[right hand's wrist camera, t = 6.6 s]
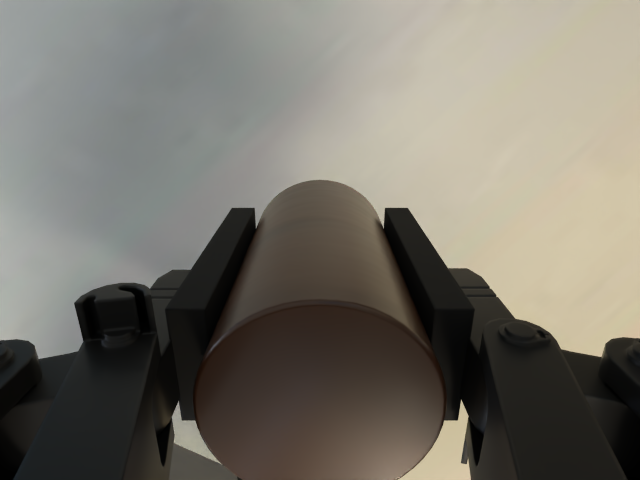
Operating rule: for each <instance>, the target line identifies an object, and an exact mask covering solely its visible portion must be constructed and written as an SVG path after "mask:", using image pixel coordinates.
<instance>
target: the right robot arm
mask: <svg viewBox="0 0 640 480" xmlns="http://www.w3.org/2000/svg"><path fill="white" fill-rule="evenodd" d="M255 231H256V223H255V208H232V209H231V210H230V212H229V213H228V215H227V216H226V218H225V219H224V221H223V222H222V224H221V225H220V227H219V228H218V230H217V231H216V233H215V234H214V236H213V237H212V239H211V240H210V242H209V243H208V245H207V246H206V248H205V249H204V251H203V252H202V254H201V255H200V257H199V258H198V260H197V261H196V263H195V264H194V266H193V267H192V269H191V270H172V271H170V272H168V273H167V274H165V275H163V276H162V277H160V278H158V279H157V281H156V282H155V283H154V284H153V286H152V287H151V288H150V289H149V288H148V287H146V286H145V285H142V284H137V283H118V284H112V285H106V286H103V287H100V288H97V289H94V290H92V291H90V292H88V293H86V294H84V295H82V296H81V297H80V298H79V299H78V300H77V301H76V302H75V303H74V304H75V308H76V312H77V317H78V321H79V325H80V329H81V333H82V337H83V343H82V345H81V347H80V349H79V351H78V352H74V353H69V354H64V355H59V356H53V357H48V358H43V359H38V356H37V352H36V349H35V346H34V345H33V344H32V343H30V342H29V341H25V340H18V339H15V340H5V341H4V340H1V341H0V480H242V479H241V478H239V477H237V476H236V475H235V474H233V473H232V472H231V471H229V470H228V469H227V468H226V467H225V466H224V465H222V464H219V463H217V462H215V461H213V460H210V459H208V458H206V457H204V456H201V455H199V454H197V453H195V452H192V451H190V450H188V449H186V448H183V447H181V446H179V445H177V444H174V429H173V423H172V415H173V412H174V410H175V408H176V406H177V403H178V401H179V404H180V411H181V417H182V420H196V419H195V415H194V410H193V389H194V382H195V378H196V375H197V371H198V369H199V366H200V364H201V361H202V359H203V356H204V354H205V352H206V349H207V347H208V344H209V342H210V339H211V337H212V335H213V332H214V330H215V327H216V325H217V323H218V320H219V318H220V315H221V313H222V310H223V308H224V306H225V303H226V301H227V298H228V296H229V293H230V291H231V289H232V286H233V284H234V281H235V279H236V277H237V274H238V272H239V269H240V267H241V264H242V262H243V260H244V257H245V255H246V252H247V250H248V247H249V245H250V243H251V240H252V238H253V235H254V233H255ZM384 231H385V233H386V236H387V238H388V241H389V243H390V246H391V248H392V250H393V253H394V255H395V258H396V260H397V263H398V265H399V267H400V270H401V272H402V275H403V277H404V280H405V282H406V284H407V287H408V289H409V292H410V294H411V297H412V299H413V301H414V304H415V306H416V309H417V311H418V314H419V316H420V318H421V321H422V323H423V326H424V328H425V331H426V333H427V335H428V338H429V340H430V343H431V345H432V348H433V350H434V352H435V355H436V357H437V360H438V362H439V365H440V367H441V369H442V373H443V376H444V380H445V383H446V392H447V405H446V413H445V418H444V420H458V416H459V409H460V403H461V400H462V402H463V404H464V406H465V409H466V411H467V413H468V416H469V417H468V423H467V429H466V435H465V441H464V447H463V453H462V460H461V463H463V464H467V460H468V459H469V467H470V475H471V480H640V339H639V338H625V337H622V338H616V339H611V340H610V341H609V342H607V343H606V344H605V348H604V351H603V355H602V357H597V356H592V355H586V354H581V353H575V352H570V351H566V350H562V349H561V348H560V347H559V345H558V343H557V341H556V340H555V338H554V337H553V336H552V335H551V334H550V333H549V332H548V331H546V330H544V329H543V328H541V327H540V326H537V325H535V324H532V323H530V322H527V321H523V320H518V319H515V318H514V317H513V315H512V314H511V313H510V312H509V310H508V309H507V308H506V307H505V305H504V304H503V303H502V302H501V300H500V299H499V298H498V297H496V294H495V293H494V292H493V290H492V289H490V287H489V286H488V284H487V283H486V282H485V281H484V279H483V278H482V277H481V276H479V275H477V274H476V273H474V272H472V271H471V270H469V269H467V268H447V266H446V265H445V263H444V262H443V260H442V259H441V257H440V256H439V254H438V253H437V251H436V250H435V248H434V247H433V245H432V244H431V242H430V241H429V239H428V238H427V236H426V235H425V233H424V232H423V230H422V229H421V227H420V226H419V224H418V223H417V221H416V220H415V218H414V217H413V215H412V214H411V212H410V211H409V209H408V208H385V218H384Z"/></svg>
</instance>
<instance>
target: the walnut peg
mask: <svg viewBox="0 0 640 480" xmlns="http://www.w3.org/2000/svg"><path fill="white" fill-rule="evenodd" d="M446 405H447V392H446V383H445V380H444V376H443V373H442V369H441V367H440V365H439V362H438V360H437V357H436V355H435V352H434V350H433V348H432V345H431V343H430V340H429V338H428V335H427V333H426V331H425V328H424V326H423V323H422V321H421V318H420V316H419V314H418V311H417V309H416V306H415V304H414V301H413V299H412V297H411V294H410V292H409V289H408V287H407V284H406V282H405V280H404V277H403V275H402V272H401V270H400V267H399V265H398V263H397V260H396V258H395V255H394V253H393V250H392V248H391V246H390V243H389V241H388V238H387V236H386V233H385V231H384V229H383V226H382V224H381V221H380V219H379V217H378V215H377V212H376V211H375V209H374V208H373V206H372V205H371V204H370V202H369V201H368V200H367V199H366V198H365V197H364V196H363V195H361V194H360V193H359V192H357V191H356V190H354V189H353V188H351V187H349V186H347V185H344V184H341V183H338V182H334V181H328V180H312V181H306V182H302V183H299V184H296V185H293V186H291V187H289V188H287V189H285V190H284V191H282V192H281V193H279V194H278V195H277V196H276V197H275V198H274V199H273V200H272V201H271V202H270V203H269V205H268V206H267V207H266V209H265V210H264V212H263V214H262V216H261V218H260V221H259V223H258V226H257V228H256V231H255V233H254V235H253V238H252V240H251V243H250V245H249V247H248V250H247V252H246V255H245V257H244V260H243V262H242V264H241V267H240V269H239V272H238V274H237V277H236V279H235V281H234V284H233V286H232V289H231V291H230V293H229V296H228V298H227V301H226V303H225V306H224V308H223V310H222V313H221V315H220V318H219V320H218V323H217V325H216V327H215V330H214V332H213V335H212V337H211V339H210V342H209V344H208V347H207V349H206V352H205V354H204V356H203V359H202V361H201V364H200V366H199V369H198V371H197V375H196V378H195V382H194V389H193V410H194V415H195V419H196V424H197V427H198V429H199V432H200V434H201V437H202V438H203V440H204V442H205V444H206V445H207V447H208V449H209V450H210V451H211V452H212V454H213V455H214V456H215V457H216V459H217V460H218V461H219V462H220V463H221V464H222V465H224V466H225V467H226V468H227V469H228V470H229V471H231V472H232V473H233V474H235V475H236V476H237V477H239V478H241V479H242V480H397V479H399V478H401V477H402V476H404V475H405V474H406V473H408V472H409V471H410V470H412V469H413V468H414V467H415V466H416V465H417V464H418V463H419V462H420V461H421V460H422V459H423V458H424V457H425V456H426V454H427V453H428V452H429V451H430V449H431V448H432V446H433V445H434V443H435V441H436V440H437V438H438V436H439V433H440V431H441V428H442V426H443V422H444V418H445V413H446Z"/></svg>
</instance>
